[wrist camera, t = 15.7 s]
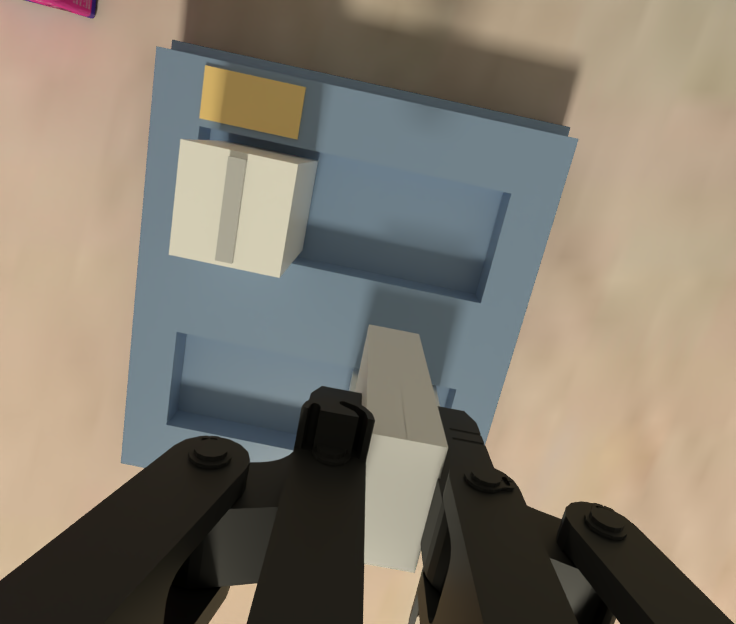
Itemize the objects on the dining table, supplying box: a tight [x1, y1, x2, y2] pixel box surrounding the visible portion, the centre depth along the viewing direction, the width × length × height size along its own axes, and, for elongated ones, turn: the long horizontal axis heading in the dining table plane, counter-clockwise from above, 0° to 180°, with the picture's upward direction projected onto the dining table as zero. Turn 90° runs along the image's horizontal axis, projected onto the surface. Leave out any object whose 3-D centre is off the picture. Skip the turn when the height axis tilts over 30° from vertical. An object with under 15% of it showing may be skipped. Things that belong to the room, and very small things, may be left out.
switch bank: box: [121, 40, 578, 468], centre depth 26 cm, size 17×20×3 cm
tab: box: [169, 139, 318, 278], centre depth 21 cm, size 4×4×6 cm
